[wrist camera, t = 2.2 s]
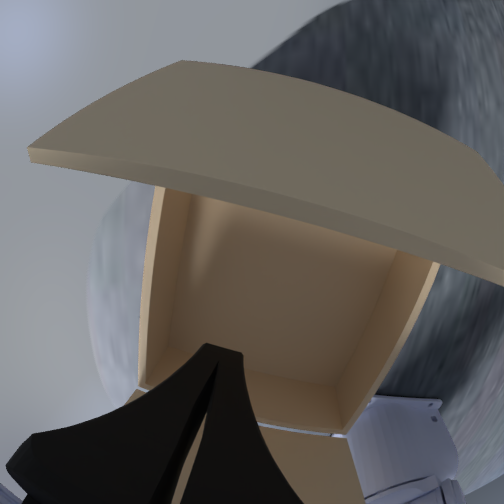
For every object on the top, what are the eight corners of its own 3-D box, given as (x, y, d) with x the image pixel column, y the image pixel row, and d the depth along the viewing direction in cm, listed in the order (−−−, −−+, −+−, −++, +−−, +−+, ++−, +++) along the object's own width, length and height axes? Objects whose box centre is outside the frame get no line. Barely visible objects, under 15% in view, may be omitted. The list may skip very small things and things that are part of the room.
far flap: (374, 537, 7) (370, 541, 7) (346, 437, 15) (344, 441, 15) (69, 476, 7) (70, 481, 7) (136, 388, 16) (136, 393, 16)
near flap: (473, 158, 10) (477, 151, 10) (557, 308, 4) (566, 300, 4) (180, 68, 10) (181, 60, 10) (31, 162, 5) (27, 147, 4)
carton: (426, 158, 15) (470, 158, 10) (337, 388, 20) (346, 434, 16) (209, 94, 16) (183, 70, 11) (164, 345, 21) (138, 386, 16)
